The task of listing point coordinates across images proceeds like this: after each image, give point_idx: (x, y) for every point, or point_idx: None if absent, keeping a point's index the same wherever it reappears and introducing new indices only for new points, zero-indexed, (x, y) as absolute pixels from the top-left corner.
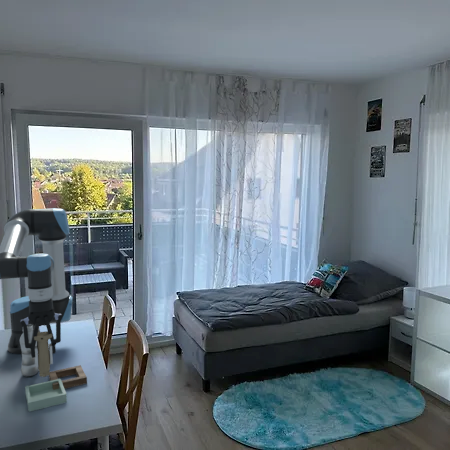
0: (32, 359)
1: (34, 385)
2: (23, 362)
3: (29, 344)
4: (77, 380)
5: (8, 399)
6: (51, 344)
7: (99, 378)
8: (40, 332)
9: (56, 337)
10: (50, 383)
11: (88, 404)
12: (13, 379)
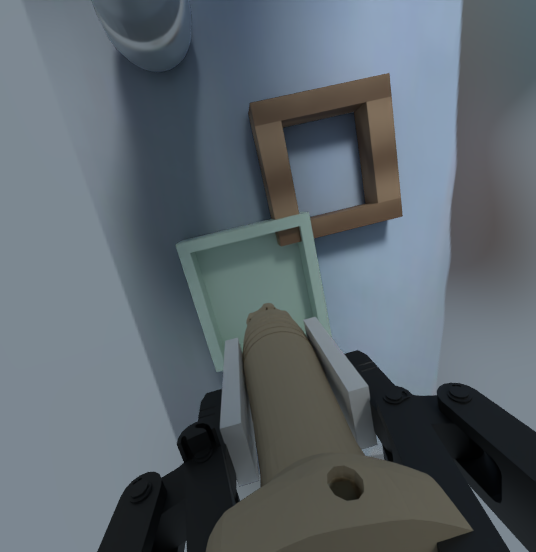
0: (151, 9)
1: (212, 246)
2: (98, 9)
3: (181, 536)
4: (366, 224)
5: (127, 259)
6: (376, 431)
7: (431, 186)
8: (317, 549)
9: (463, 428)
10: (270, 232)
11: (380, 352)
12: (86, 65)
